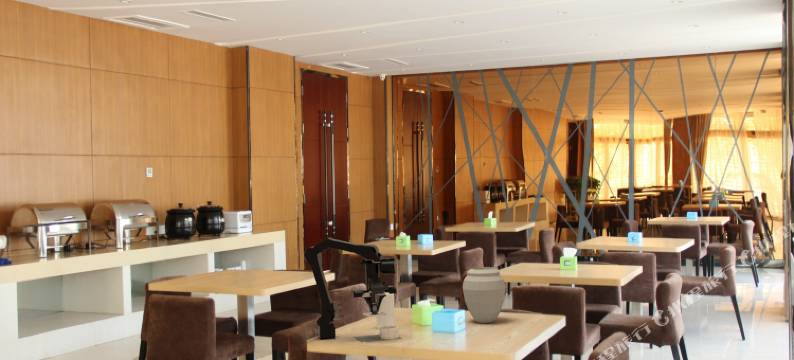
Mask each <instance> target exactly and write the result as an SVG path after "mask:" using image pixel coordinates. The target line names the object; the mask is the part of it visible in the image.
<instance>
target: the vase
mask: <svg viewBox="0 0 794 360" xmlns="http://www.w3.org/2000/svg"><path fill="white" fill-rule="evenodd" d="M500 271H501V270H499V269H497V268H496V267H494V266H493V267H491V266H481V267H480V266H478V267H477V266H476V267H471V269H469V270H468V271H467V272H466V273H467V276H465V278H464V280H463V283H462V291H463V296H464V297H463V298H464V302H465V305H466V306H467V307H466V308H467V309H468V312H469V313H470V316H471V317H472V319H474V321H475V322H476V323H479V324H490V323H492V324H493V322H495V321H496V320H497V319H498V317H499V315H500V313H501V312H502V309H503V305H504V301H505V297H506V289H507V287H506V283H505V279H504V277H503V276H502V275H501V273H500Z"/></svg>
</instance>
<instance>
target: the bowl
mask: <svg viewBox="0 0 794 360" xmlns="http://www.w3.org/2000/svg"><path fill="white" fill-rule="evenodd" d="M379 334H380V337H381V339H385V341H392V339H394V340H399V339H398V338H399V337H400V326H398V325H395V326H382V327H380V329H379Z"/></svg>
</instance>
